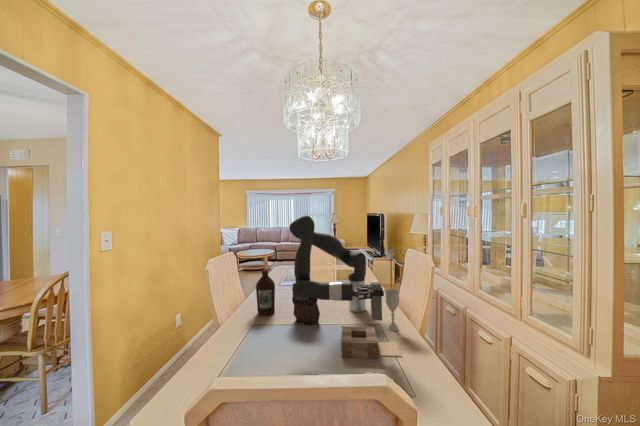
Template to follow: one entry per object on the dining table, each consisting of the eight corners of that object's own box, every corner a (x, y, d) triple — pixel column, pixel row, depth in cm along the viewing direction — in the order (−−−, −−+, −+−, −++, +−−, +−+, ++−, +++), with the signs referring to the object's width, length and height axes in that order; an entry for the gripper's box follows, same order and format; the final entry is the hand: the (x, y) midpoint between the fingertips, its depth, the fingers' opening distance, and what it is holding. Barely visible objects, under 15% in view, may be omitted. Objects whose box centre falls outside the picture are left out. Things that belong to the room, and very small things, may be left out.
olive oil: (257, 310, 152) (256, 268, 152) (275, 309, 154) (274, 267, 154) (255, 317, 142) (254, 272, 142) (275, 316, 143) (274, 270, 143)
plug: (371, 316, 108) (370, 280, 108) (381, 316, 107) (380, 280, 107) (372, 320, 104) (371, 283, 104) (382, 320, 104) (381, 283, 103)
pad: (377, 343, 111) (377, 342, 111) (396, 343, 110) (396, 342, 110) (380, 356, 101) (380, 355, 101) (401, 356, 100) (401, 355, 100)
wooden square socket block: (342, 339, 114) (342, 326, 114) (374, 340, 113) (374, 327, 113) (341, 357, 100) (341, 342, 100) (378, 358, 99) (378, 343, 99)
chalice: (390, 333, 119) (389, 294, 119) (382, 326, 126) (381, 290, 126) (404, 330, 121) (402, 292, 121) (396, 324, 128) (395, 288, 128)
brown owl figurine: (320, 324, 131) (319, 285, 130) (296, 328, 127) (295, 287, 127) (314, 315, 143) (313, 279, 143) (291, 318, 139) (290, 281, 139)
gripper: (340, 287, 100) (385, 287, 98) (341, 277, 114) (380, 277, 112) (340, 306, 100) (385, 307, 98) (341, 294, 114) (381, 295, 112)
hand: (382, 291), depth 105 cm, fingers closed on plug, 4 cm apart
